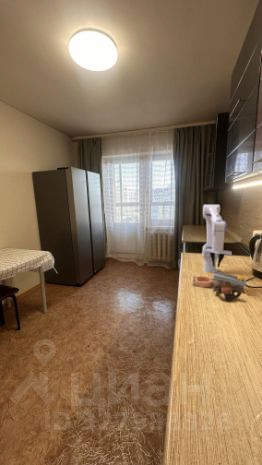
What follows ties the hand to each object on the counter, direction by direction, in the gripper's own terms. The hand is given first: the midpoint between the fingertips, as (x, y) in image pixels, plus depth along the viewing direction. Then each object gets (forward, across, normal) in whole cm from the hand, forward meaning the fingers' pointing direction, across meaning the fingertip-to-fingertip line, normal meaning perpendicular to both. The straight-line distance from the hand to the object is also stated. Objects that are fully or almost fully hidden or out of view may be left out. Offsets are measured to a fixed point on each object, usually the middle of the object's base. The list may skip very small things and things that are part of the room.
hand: (216, 266), depth 113 cm
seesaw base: (+9, +1, -5) cm, 11 cm away
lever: (+6, +6, -3) cm, 9 cm away
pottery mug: (+10, +4, -19) cm, 22 cm away
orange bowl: (+8, -6, -7) cm, 13 cm away
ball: (+3, +11, -7) cm, 14 cm away
